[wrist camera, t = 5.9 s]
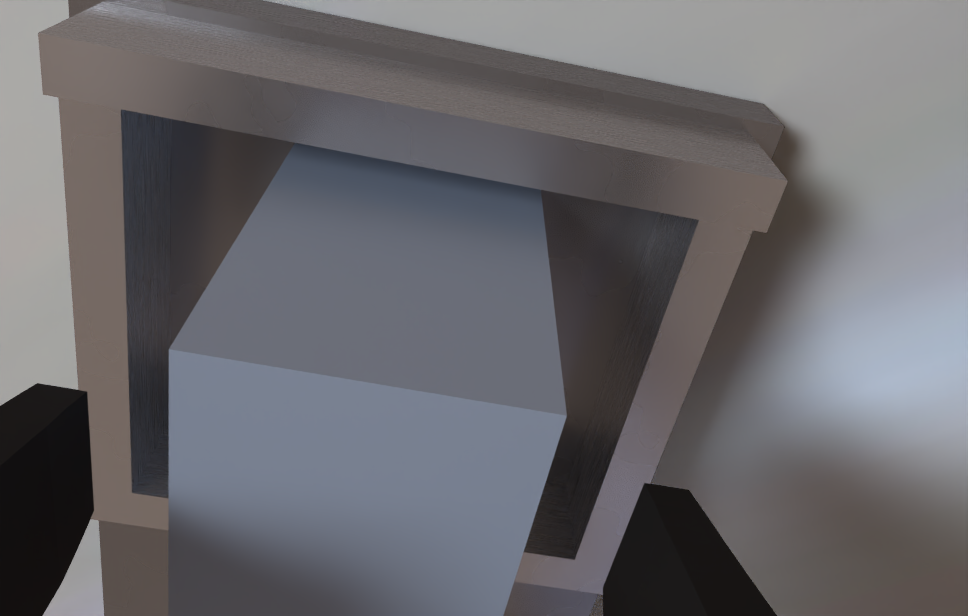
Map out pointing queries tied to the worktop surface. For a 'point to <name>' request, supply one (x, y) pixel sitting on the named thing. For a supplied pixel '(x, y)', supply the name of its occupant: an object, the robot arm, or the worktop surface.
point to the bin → (410, 140)
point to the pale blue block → (365, 398)
